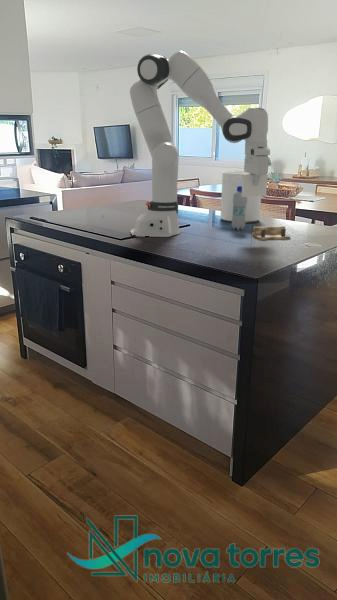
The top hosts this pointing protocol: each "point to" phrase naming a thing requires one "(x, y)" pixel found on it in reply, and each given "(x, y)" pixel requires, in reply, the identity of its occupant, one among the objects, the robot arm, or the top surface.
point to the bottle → (239, 209)
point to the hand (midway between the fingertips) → (254, 185)
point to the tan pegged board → (270, 233)
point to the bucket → (228, 189)
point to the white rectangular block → (253, 186)
